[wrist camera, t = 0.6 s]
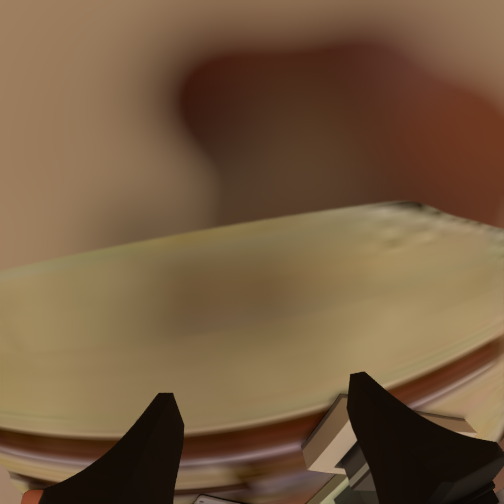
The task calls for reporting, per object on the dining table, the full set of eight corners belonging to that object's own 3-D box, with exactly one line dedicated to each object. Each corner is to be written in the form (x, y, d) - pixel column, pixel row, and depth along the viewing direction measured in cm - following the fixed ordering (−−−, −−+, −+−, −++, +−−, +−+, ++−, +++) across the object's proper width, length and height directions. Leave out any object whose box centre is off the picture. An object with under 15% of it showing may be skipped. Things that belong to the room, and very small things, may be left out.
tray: (361, 506, 28) (364, 514, 26) (305, 504, 27) (307, 513, 25) (404, 465, 27) (409, 473, 25) (348, 461, 26) (352, 471, 24)
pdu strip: (430, 460, 27) (441, 475, 24) (301, 446, 25) (307, 469, 21) (464, 419, 26) (477, 433, 23) (340, 393, 24) (352, 415, 21)
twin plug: (367, 451, 25) (387, 490, 19) (334, 446, 24) (351, 490, 18) (392, 421, 24) (417, 459, 18) (359, 414, 24) (383, 458, 18)
